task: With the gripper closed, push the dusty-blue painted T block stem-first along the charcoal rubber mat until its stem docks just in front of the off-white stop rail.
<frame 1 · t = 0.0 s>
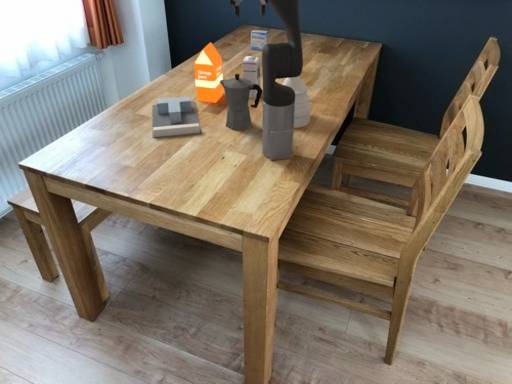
hand: (249, 16, 154), 29 cm above the table, fingers open, 8 cm apart
t block: (174, 110, 159), resting on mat
syrup box: (251, 95, 171), on the table
orange juice: (210, 98, 169), on the table
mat: (175, 119, 154), on the table
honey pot: (291, 119, 154), on the table
medicine box: (259, 49, 216), on the table
stop rail: (177, 133, 145), resting on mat
coffeepot: (241, 125, 150), on the table
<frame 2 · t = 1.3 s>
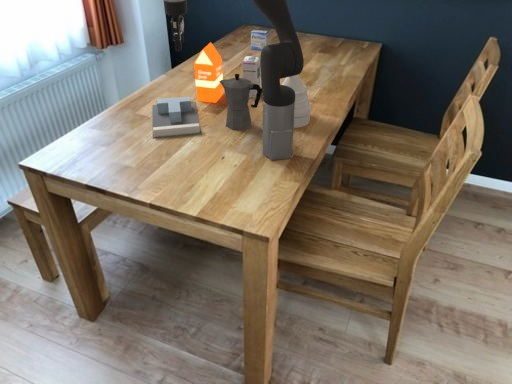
hand: (179, 46, 154), 20 cm above the table, fingers open, 8 cm apart
nothing on the table moved.
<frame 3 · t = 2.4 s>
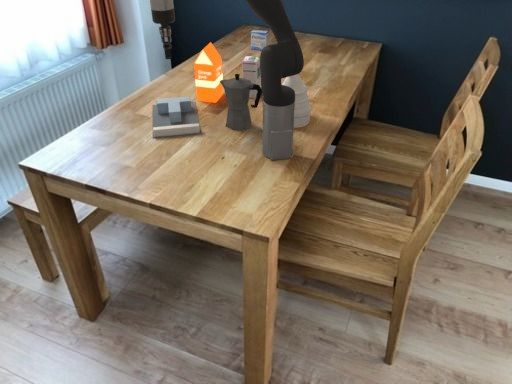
hand: (168, 58, 155), 17 cm above the table, fingers closed
nothing on the table moved.
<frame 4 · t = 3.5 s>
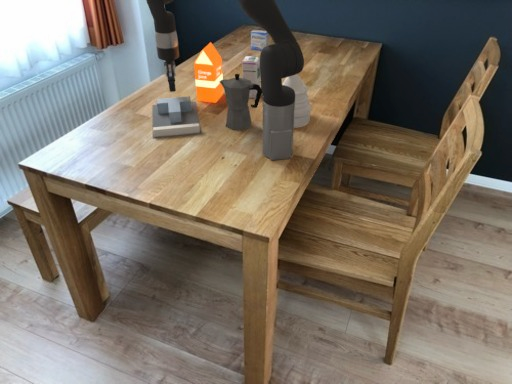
hand: (172, 90, 163), 5 cm above the table, fingers closed
nothing on the table moved.
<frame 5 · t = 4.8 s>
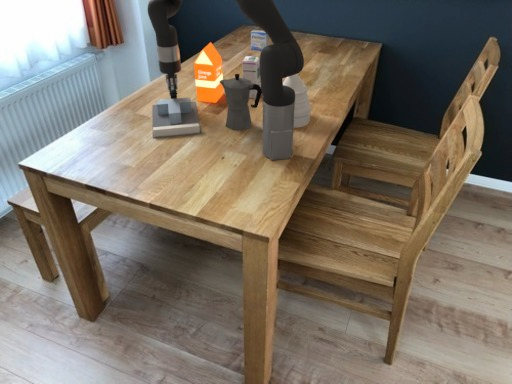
hand: (174, 103, 162), 1 cm above the table, fingers closed
t block: (174, 111, 159), resting on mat, touching gripper
everything else where it was.
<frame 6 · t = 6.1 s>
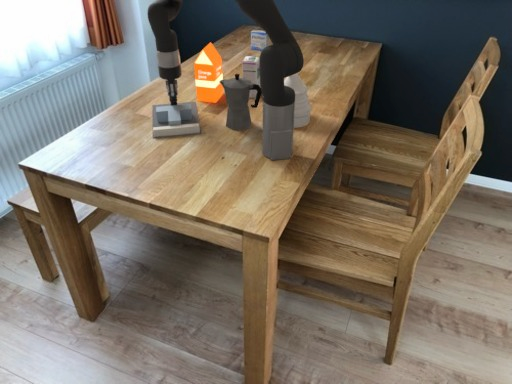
hand: (174, 109, 157), 1 cm above the table, fingers closed
t block: (174, 118, 154), resting on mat, touching gripper
everything else where it was.
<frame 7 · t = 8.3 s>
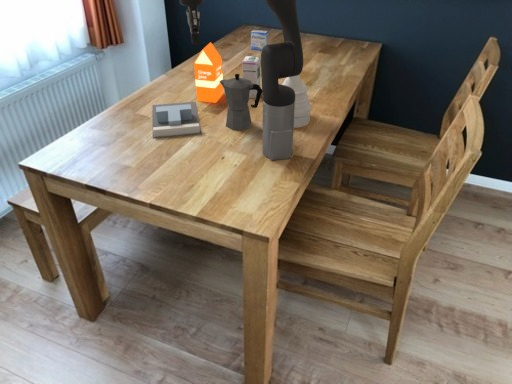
hand: (195, 44, 144), 24 cm above the table, fingers closed
t block: (174, 118, 154), resting on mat
everything else where it was.
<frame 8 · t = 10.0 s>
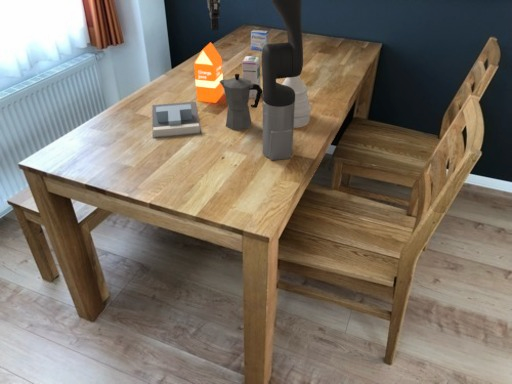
hand: (215, 29, 142), 29 cm above the table, fingers closed
nothing on the table moved.
at the end: t block inside the target area (2.0 cm from its centre), resting on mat; t block moved 6.7 cm from its start; t block tilted 0° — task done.
